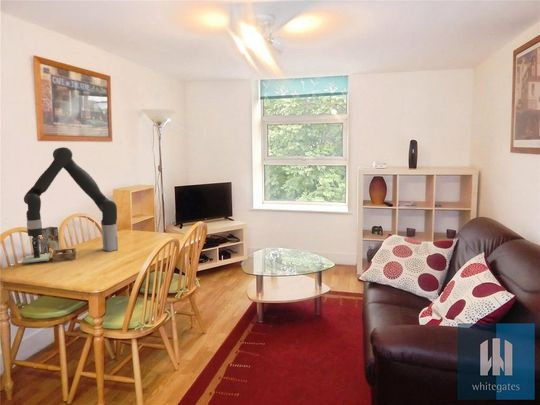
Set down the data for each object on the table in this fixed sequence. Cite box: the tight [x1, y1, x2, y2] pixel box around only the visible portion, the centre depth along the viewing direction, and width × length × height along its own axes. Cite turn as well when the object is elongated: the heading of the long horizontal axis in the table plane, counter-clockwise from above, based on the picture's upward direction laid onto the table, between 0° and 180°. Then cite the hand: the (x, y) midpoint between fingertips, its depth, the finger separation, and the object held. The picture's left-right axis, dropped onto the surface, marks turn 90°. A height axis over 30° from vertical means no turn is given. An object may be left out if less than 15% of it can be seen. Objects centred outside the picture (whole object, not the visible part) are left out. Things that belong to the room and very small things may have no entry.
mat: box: [26, 261, 48, 266], centre depth 237 cm, size 10×12×1 cm
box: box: [51, 247, 77, 263], centre depth 243 cm, size 12×12×5 cm
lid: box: [22, 247, 52, 264], centre depth 237 cm, size 13×13×7 cm
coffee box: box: [40, 226, 61, 254], centre depth 260 cm, size 9×6×16 cm
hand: (37, 255), depth 237 cm, fingers closed on lid, 3 cm apart
